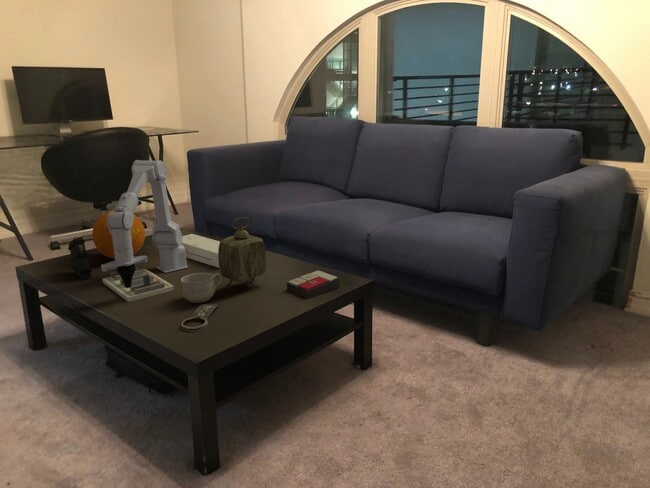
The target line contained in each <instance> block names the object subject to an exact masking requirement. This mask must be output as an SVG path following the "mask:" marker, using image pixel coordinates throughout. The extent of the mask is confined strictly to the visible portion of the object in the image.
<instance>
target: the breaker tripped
mask: <svg viewBox="0 0 650 488" xmlns="http://www.w3.org/2000/svg"><path fill="white" fill-rule="evenodd" d="M143 281H144V285H143V286H144V287H146V286H150V277H149V275H148V274H146V275H143Z"/></svg>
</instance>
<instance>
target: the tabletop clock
mask: <svg viewBox="0 0 650 488" xmlns="http://www.w3.org/2000/svg"><path fill="white" fill-rule="evenodd" d="M244 219H245V220H247V224H246V225H244V226H243V224H240V225H239V227H235V226H234V225H235V223H236V222H237V221H238V220H244ZM231 225H232V228H233V230H236V231H235V232H234V235H230V236H228V237H226V238H225V237H224V238H223V239H222V240H221V241H220V240H219V241H220V244H219V249H218V261H219V272H220V274H221V276H222V278H223V277H224V278H225V279H228V280H229V282H228V283H227V284H225V288H226V289H227V290H229V289H231V284H232V283H233V282H237V283H238V282H239V283H241V282H245V281H246V288H247V289H251V287H252V284H250V281H251V282H254V281H255V280H256V279H255V278H258V277H260V276H262V275H263V274H264V273H266V268H267V254H266V253H267V252H266V245H265V243H264V241H263V238H261V237H259V236H254V235H251V234H249V232H248V231H247V230H246V228H247V227H248V226H249V225H250V219H249V218H248V217H247V216H239V217H236V218H235V219H234V220H233V222H232V224H231Z"/></svg>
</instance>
